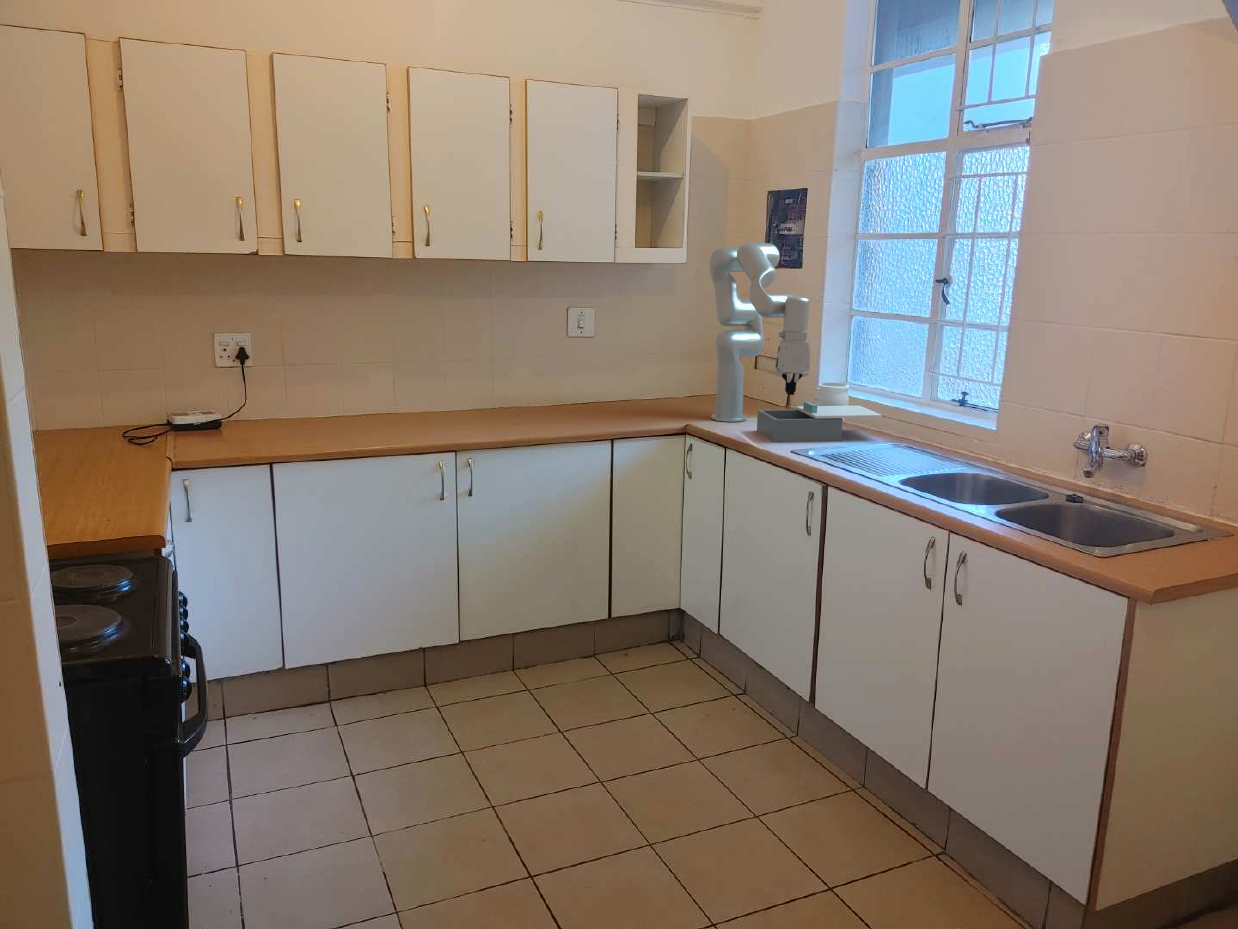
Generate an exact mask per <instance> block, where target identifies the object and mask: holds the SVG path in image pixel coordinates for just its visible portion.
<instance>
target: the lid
mask: <svg viewBox="0 0 1238 929" xmlns="http://www.w3.org/2000/svg"><path fill="white" fill-rule="evenodd" d="M795 410H799V411H801V412H803V413H805V414H807V415H809V416H811V417H813V418H815V419H818V418H845V419H868V418H869V419H874V418H875V419H876V418H877V419H878V418H879V419H880V418H881V419H882V418H883V414H880V413H878V412H875V411H873V410H872V409H870V408H869V409H868V408H866V407H863V406H861V405H848V406H817V404H815V403H813V402H810V401H803V405H802V406H801V405H799V406H798V405H797V406H795Z"/></svg>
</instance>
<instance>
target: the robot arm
mask: <svg viewBox="0 0 1238 929" xmlns="http://www.w3.org/2000/svg"><path fill="white" fill-rule="evenodd" d="M780 259H781V258H780V251H779V249H778V248H777V246H776V245H775V244H773V243H770V242H748V243H744V244H741V246H722V247H719V248H717V249H714V251H712V253H711V255H710V258H709V266H708V267H709V274H710V275H709V276H710V277H711V281H712V284H713V288H714V295H715V296H714V297H715V308H716V317H717V321H718V323H719V325H720V326H723V327H743V328H744V329H729V330H728V329H727V330H723V331H721V332H719V333H718V335H716V338H715V342H714V344H715V351H716V363H717V365H716V366H717V368H716V369H717V370H716V392H715V393H716V394H715V396H716V397H715V413H712V414H711V416H710V419H711V418H712V420H713V419H714V420H713V421H717V422H723V423H724V422H725V423H726V422H727V423H738V422H739V423H740V422H745V421H746V420H747V415H746V414H743V405H744V384H745V368H744V366H743V364H742V362H741V360H740V358H748V357H749V358H750V357H751V358H752V357H758V356H760V355H761V354H762V353H763V351H764V347H765V335H764V326H763V324H764V323H763V319H764V318H765V319H783V327H782V331H781V332H778V334H777V335H778V338H781V340H780V341H779V344H778V347H777V351H776V359H775V372H774V375H775V376H777V377H781V378H782V379H783V380H784V381H785V385H784V386H785V388H784V391H785V393H786V395H788V396H794V395H795V393H796V390H797V383H798V382H799V380H800V379H801V378H805V377H808V376H809V372H810V371H811V370H810V369H811V348H810V347H811V346H810V345H811V344H810V342H809V341H808V340H807V338H808V328H809V327H808V326H809V314H810V312H809V311H810V305H811V304H810V299H809V298H807V297H804V296H798V295H796V294H792V293H767V292H766V290H765V289H767V288H768V287H769V286H771V285H772V284H773V283H774V281H775V280H776V277H777V271H776V269H775V268H776V267H777V266H778V264H779V261H780ZM731 272H732V273H745V274H746V276H747V277H748V279H749V281H750V282H751V283H750V286H749V291H748V292H749V293H748V294H749V298H741V296H740V295H741V294H740V286H739V284H738V282H737V280H736V279H735V277H734V276H733V275H732V274H731Z"/></svg>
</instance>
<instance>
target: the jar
mask: <svg viewBox="0 0 1238 929" xmlns="http://www.w3.org/2000/svg"><path fill="white" fill-rule="evenodd" d="M818 388H819V391H818V394H817V404H816V405H817V406H849V404H850V403H849V402H850V400H849V397H850V396H849V389H850V385H849V384H846V383H840V382H822V383H821V382H820V383H819V384H818ZM842 419H843V423H844V422H845V420H846V418H842ZM843 427H844V425H843V424H842V428H843Z"/></svg>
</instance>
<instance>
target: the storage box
mask: <svg viewBox="0 0 1238 929" xmlns="http://www.w3.org/2000/svg"><path fill="white" fill-rule="evenodd" d="M756 417H757V418H756V419H757V420H756V432H757V433H759V434H761V436H764V437H765V438H766V439H768V440H770V441H771V442H773V443H813V442H815V443H816V442H842V436H843V427H842V425H843V423H844V422H843V419H842V418H818V419H815V418H813V417H811V416H809V415H807V414H805V413H803V412H801V411H799V410H797V409H758V410H757V416H756Z"/></svg>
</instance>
